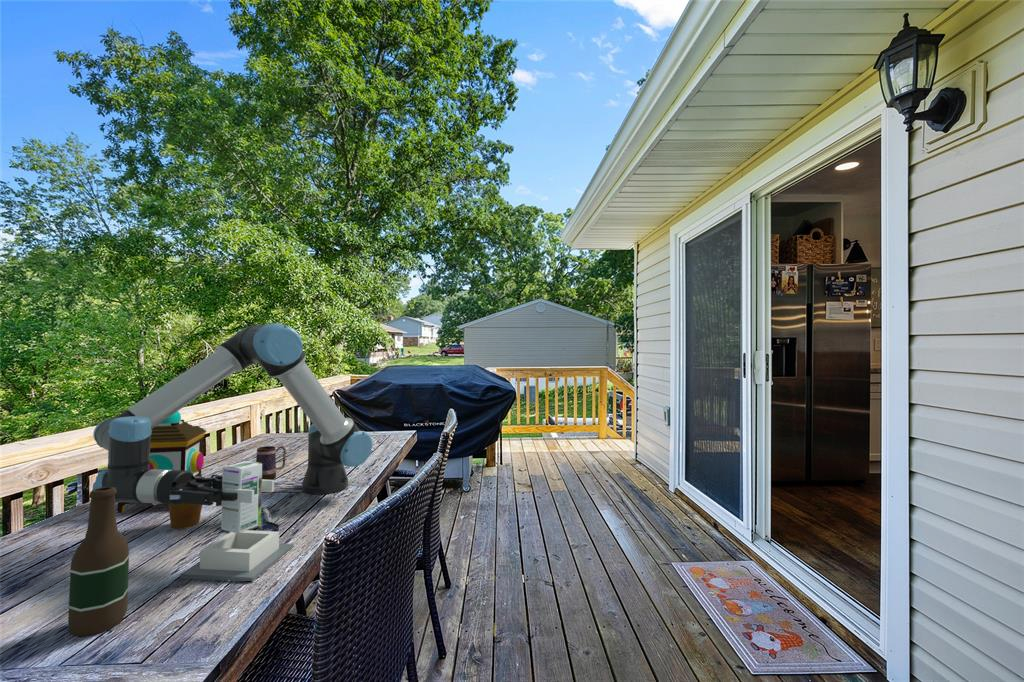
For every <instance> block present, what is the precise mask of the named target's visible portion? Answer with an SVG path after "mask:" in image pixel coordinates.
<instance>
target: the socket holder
mask: <svg viewBox="0 0 1024 682" xmlns="http://www.w3.org/2000/svg"><path fill="white" fill-rule="evenodd" d="M294 546H295V544H292V543H291V544H289V543H280V531H275V532H274V531H265V530H262V531H259V530H252V529H251V530H245V531H243V532H241V533H234V532H229V533H227V534H225V535H224V536H222V537H220V538H219V539H217V540H216V541H214V542H212V543H210V544H208V545H207V546H205V547H204V548H202V549H200V550H199V561H198V562H197V563H195V564H193V565H192V566H191V567H189V568H187V569H186V570H184V571H182V572H181V573H180V576H179V577H180V579H181V580H198V581H199V580H200V581H201V580H202V581H217V580H230V581H229V582H236V581H254V580H255V579H256V578H257V577H258V576H259V575H261V574H262V573H263V572H264V571H266V570H267V569H268V568H270V567H271V566H272V565H273V564H274V563H275V562H276V561H278V560H279V559H280V558H281V557H282V556H283V555H285V554H286V553H287V552H288V551H290V550H291V549H292V548H293V547H294ZM294 548H295V547H294ZM291 551H292V550H291ZM291 551H290V552H291ZM285 556H286V555H285ZM280 560H281V559H280ZM280 560H279V561H280ZM279 561H278V562H279ZM274 565H275V564H274ZM274 565H273V566H274ZM273 566H272V567H273ZM272 567H271V568H272ZM271 568H270V569H271ZM268 570H269V569H268ZM268 570H267V571H268ZM267 571H266V572H267ZM263 574H264V573H263ZM263 574H262V575H263ZM262 575H261V576H262ZM257 579H258V578H257ZM257 579H256V580H257ZM256 580H255V581H256ZM255 581H254V582H255Z"/></svg>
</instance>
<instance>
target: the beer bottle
mask: <svg viewBox="0 0 1024 682" xmlns="http://www.w3.org/2000/svg"><path fill="white" fill-rule="evenodd" d="M116 493H117V490H116V488H115V487H101V488H97V489H94V490H93V489H92V490H91V491H90V492H89V495H88V498H90V502H89V503H90V504H89V512H88V519H87V520H88V522H87V528H86V529H87V530H86V533H85V536H84V539H83V540H82V541H81V542H80V543H79V545H78V546H77V547H76V549H75V551H74V553H73V556H72V557H71V563H70V570H69V590H68V591H69V593H68V594H69V595H68V596H69V597H68V618H67V619H68V620H67V622H68V633H69V634H70V635H74V636H76V637H79V638H84V637H88V636H94V635H99V634H102V633H103V634H104V633H105V632H106V631H108V630H111V629H112V628H114V627H117V626H119V625H120V624H121V622H122V621H123V620H124V618H125V616H126V614H127V612H128V610H127V609H128V599H129V597H128V596H129V594H128V593H129V569H130V568H129V567H130V566H129V564H130V546H129V544H128V541H127V539H126V537H125V536H124V535H123V534H122V533H121V531H119V530H118V529H119V528H118V525H117V516H116V515H117V513H116V510H117V509H116V502H115V494H116Z"/></svg>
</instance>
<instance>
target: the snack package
mask: <svg viewBox="0 0 1024 682" xmlns="http://www.w3.org/2000/svg"><path fill="white" fill-rule="evenodd" d="M261 513H263V516H262V517H263V518H262V521H261V524H260V525H259V530H258V531H261V530H262V531H275V532H278V531H279V530H280V527H279V524H278V523H275V522H272V515H271V513H270V511H269V510H268V509H267V508H266V507H261ZM267 528H271V529H267ZM260 529H261V530H260ZM264 529H265V530H264ZM248 530H252V528H250V529H248ZM277 530H278V531H277Z"/></svg>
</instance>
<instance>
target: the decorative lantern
mask: <svg viewBox="0 0 1024 682" xmlns="http://www.w3.org/2000/svg"><path fill="white" fill-rule="evenodd" d="M206 433H207V430H206V429H204V428H203V427H201V426H200V425H192V424H191V423H190V424H189V422H187V421H185V419H182V415H181V412H180V411H179V410H178V411H177V412H176V413H174V414H173V415H171V416H170V417H168V418H167V419H165V420H164V421H163V422H161V423H160V424H158V425H157V426H155V427H154V428H152V433H151V445H150V463H149V469H162V470H183V471H189V472H191V473H192V474H193V476H194V477H203V475H202V468H203V467H204V461H205V459H204V458H205V457H204V455H203V439H204V437H205V435H206ZM116 504H117V505H116V506H117V507H116V510H117V513H118V514H119V513H122V512H123V513H125V511H126V506H127V505H133V504H137V503H136V502H120V503H119V502H117V503H116ZM123 513H122V514H123Z"/></svg>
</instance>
